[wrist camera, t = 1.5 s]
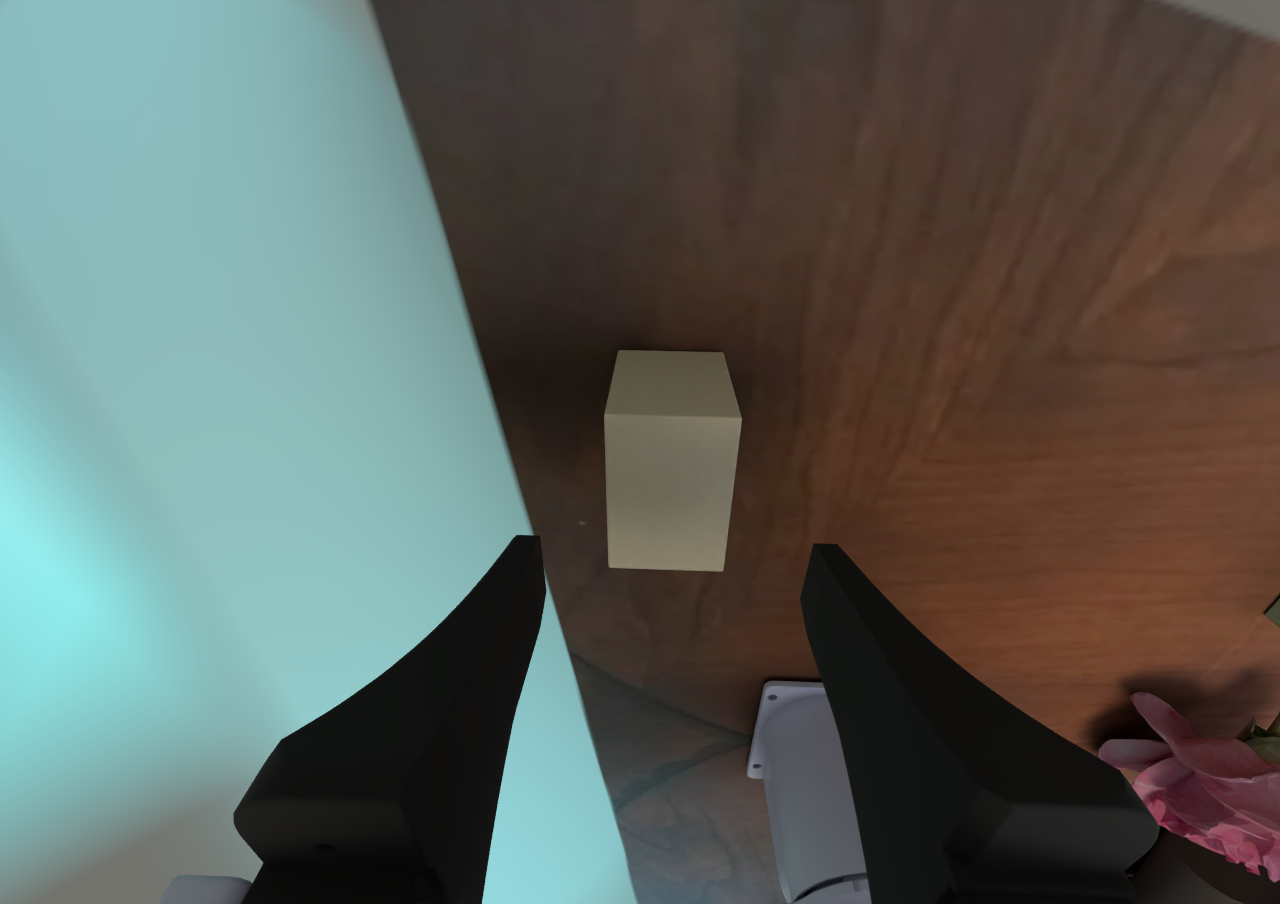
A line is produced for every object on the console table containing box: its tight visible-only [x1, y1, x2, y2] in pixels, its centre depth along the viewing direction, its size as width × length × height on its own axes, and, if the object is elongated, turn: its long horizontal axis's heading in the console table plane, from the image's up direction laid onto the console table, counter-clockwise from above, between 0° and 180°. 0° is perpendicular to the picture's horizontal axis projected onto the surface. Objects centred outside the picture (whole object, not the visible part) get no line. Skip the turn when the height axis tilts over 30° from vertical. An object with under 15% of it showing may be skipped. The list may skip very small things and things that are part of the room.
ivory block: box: [604, 350, 742, 572], centre depth 19 cm, size 6×4×6 cm, turn 179°
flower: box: [1098, 692, 1280, 883], centre depth 27 cm, size 11×10×10 cm
